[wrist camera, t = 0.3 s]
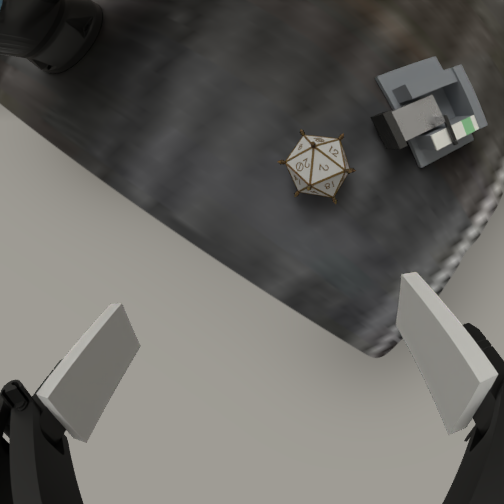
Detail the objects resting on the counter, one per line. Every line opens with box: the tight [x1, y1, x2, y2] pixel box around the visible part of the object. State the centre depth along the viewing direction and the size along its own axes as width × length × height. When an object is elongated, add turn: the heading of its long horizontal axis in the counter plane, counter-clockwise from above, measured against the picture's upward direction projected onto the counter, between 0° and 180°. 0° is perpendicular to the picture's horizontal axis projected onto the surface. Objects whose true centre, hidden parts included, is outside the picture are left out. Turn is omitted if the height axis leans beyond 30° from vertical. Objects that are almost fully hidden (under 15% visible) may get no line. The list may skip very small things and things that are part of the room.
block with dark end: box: [371, 95, 458, 149], centre depth 28 cm, size 7×9×5 cm
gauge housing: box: [375, 56, 488, 168], centre depth 27 cm, size 14×12×6 cm
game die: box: [278, 129, 356, 204], centre depth 31 cm, size 9×8×10 cm
